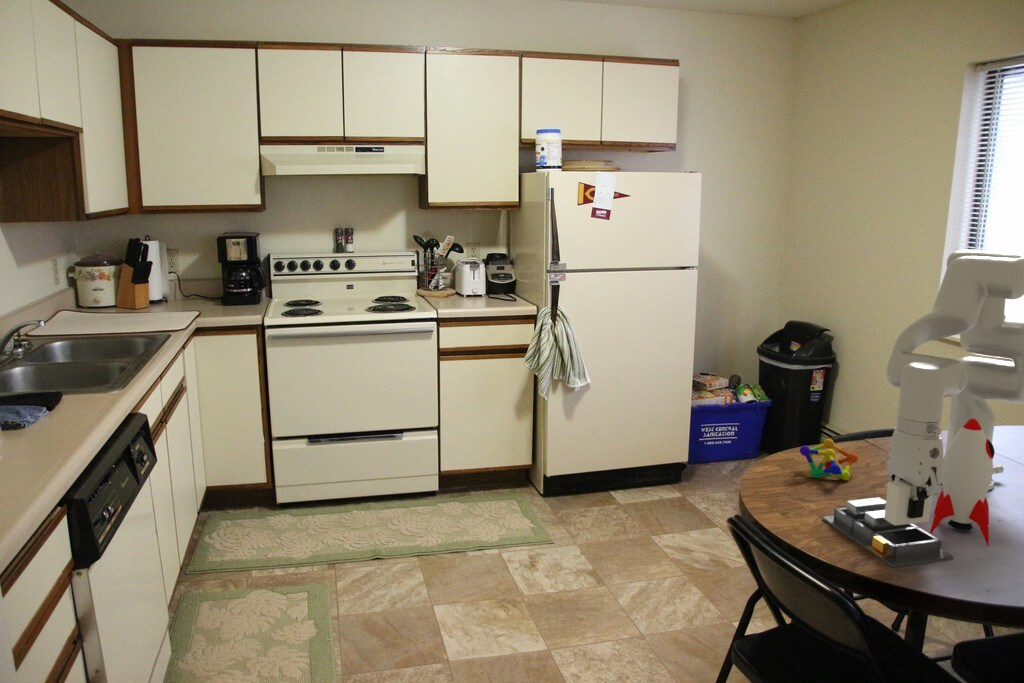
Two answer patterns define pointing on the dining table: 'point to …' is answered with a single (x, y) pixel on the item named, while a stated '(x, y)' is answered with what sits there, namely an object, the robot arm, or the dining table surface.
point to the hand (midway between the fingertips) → (908, 512)
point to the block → (903, 504)
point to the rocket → (966, 480)
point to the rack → (886, 534)
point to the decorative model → (829, 460)
